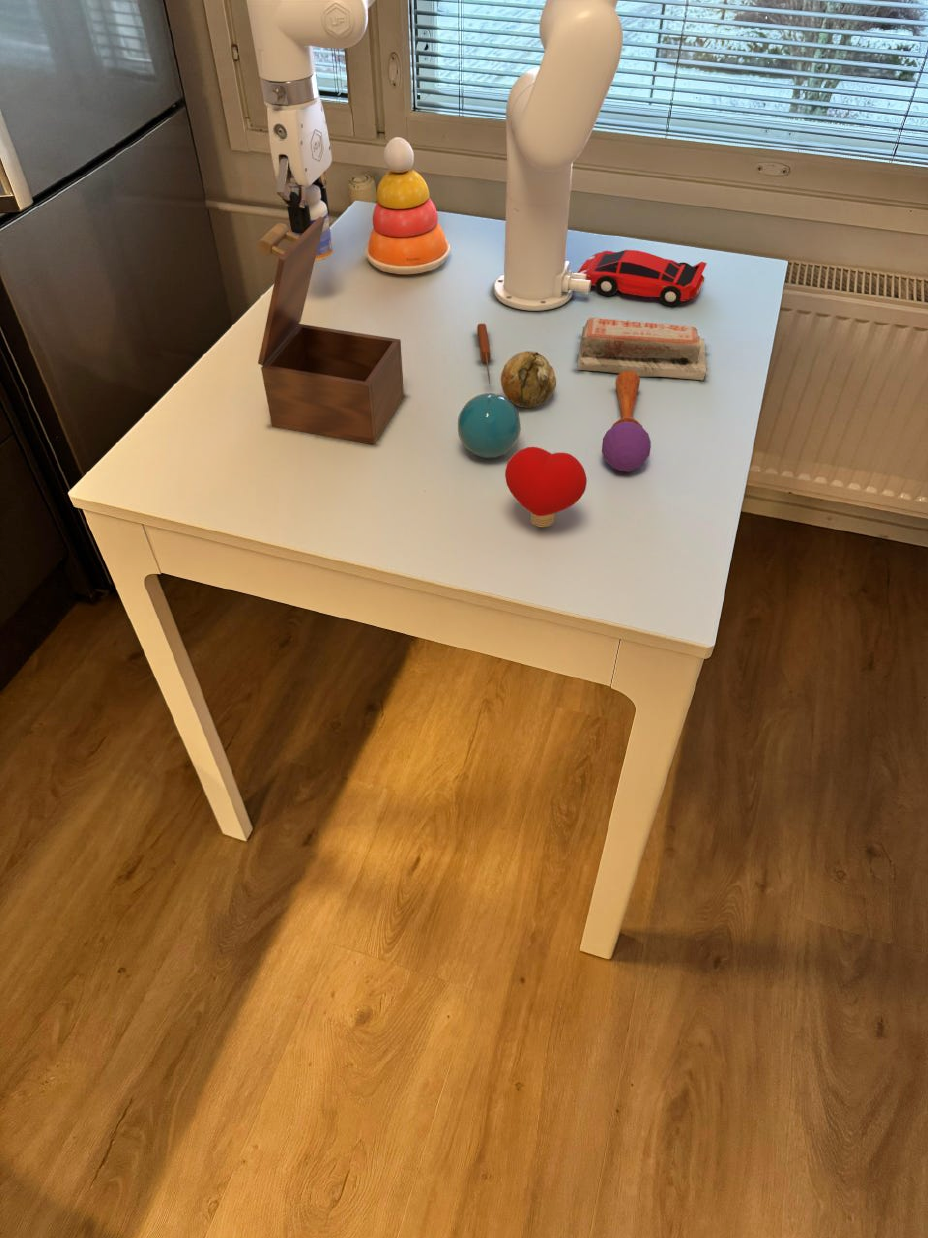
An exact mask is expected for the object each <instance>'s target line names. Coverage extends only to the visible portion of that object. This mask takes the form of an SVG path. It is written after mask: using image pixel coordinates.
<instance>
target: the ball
mask: <svg viewBox="0 0 928 1238" xmlns="http://www.w3.org/2000/svg"><path fill="white" fill-rule="evenodd" d="M521 425H522V424H521V416H520V413H519V411H518V409H517V407H516V406H515V404H514V403H513V402H512V401H510V400H509V399H508V398H507V397H506V396H505V397H504V396H503V395H501V394H497V393H493V392H488V393H487V392H485V393H481V394H478V395H476V396H474V397H473V398H470V399H469V400H468V401H467V402H466V403H465V404H464V406H463V407H462V409H461V410H460V412H459V414H458V418H457V434H458V437H459V440H460V441H461V443H462V445H463V446H464V447H465V448H466V450H467V451H469V452H470V453H471V454H473V455H475V456H477V457H480V458H483V459H494V458H498V457H501V456H503V455H505V454H506V453H508V452H509V451H511V450H513V448H514V447H515V445H516V443H517V442H518V439H519V437H520V435H521V431H522V428H521Z"/></svg>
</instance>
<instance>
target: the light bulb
mask: <svg viewBox="0 0 928 1238" xmlns="http://www.w3.org/2000/svg"><path fill="white" fill-rule="evenodd" d="M504 471H505V472H504V478H505V483H506V487H507V488H508V490H509V492H510V493H511V495H512V496H513V498H514V499H515V500H516V501H517V502H518V503H519V504H520V505H521V506H522V507H523V508H524V509H526V511H529V512H530V513H531V514H530V515H531V516H530V521H531V523H532V524H533V525H534V526H535V527H539V528H548V527H550V526H552V525H553V524H554V521H555V514H556V513H560V512H561V511H564V510H566V509H569V508H570V507H572V506H573V505H575V504H576V503H577V502H578V501H580V500H581V498H582V496H583V495H584V494H585V491H586V490H587V489H586V488H587V482H588V480H587V478H588V477H587V474H586V470H585V469H584V467H583V465H582V463H581V462H580V461H579V460H578V458H576V457H575V456H573V455H572V454H570V453H567V452H554V453H551V452H550V451H548V450H546V449H544V448H542V447H538V446H527V447H524V448H522V449H520V450H518V451H517V452H516V453H514V454H513V455H512V456H511V457H510V458H509V460H508V462H507V463H506V467H505V470H504Z"/></svg>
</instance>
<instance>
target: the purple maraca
mask: <svg viewBox="0 0 928 1238" xmlns="http://www.w3.org/2000/svg"><path fill="white" fill-rule="evenodd" d="M640 383H641V379H640V376H638V375H637V374H636V373H635V372H633V371H624V372H621V373H618V374H617V376H616V378H615V389H616V394H617V398H618V404H619V409H620V414H621V418H620V419H618V420H617V421H615V422H614V423H613V424H612V425H611V427H610V428H609V429H608V430H607V431H606V432H605V434H604V436H603V437H602V444H601V454H602V456H603V459H604V461H606V462H607V463H608V465H609V466H610V467H611V468H612V469H614V470H617V471H619V472H631V471H635V470H637V469H639V468H640V467H641V466H643V465H644V464H645V463H646V461H647V459H648V458H649V456H651V455H650V453H651V449H652V444H651V443H652V441H651V438H650V435H649V433H648V432H647V431H646V430H645V428H643V426H642V424H641V423H640V422H639V421H637V420H636V419H635V418H633V413H634V410H635V404H636V401H637V396H638V392H639V388H640Z"/></svg>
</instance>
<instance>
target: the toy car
mask: <svg viewBox="0 0 928 1238" xmlns="http://www.w3.org/2000/svg"><path fill="white" fill-rule="evenodd" d="M707 265H708V263H707V262H704V261H700V262H698V263H697V264H694V265H691V264H689V263H688V262H678V261H675V260H672V259H668V258H664V257H661V256H659V255H655V254H653V253H649V252H646V251H642V250H636V249H624V250H620V251H611V250H604V251H601V252H597V253H595V254H593V255H592V256H591V257H589V258H588V259H586V260H585V261H584V262H582V263H581V265H580V266H579V268H578V270H577V273H581V274H586V280H591V286H595V289H596V291H597V292H598V293H599V294H600V295H602V296H604V297H610V296H611V297H612V296H613V295H614V294H616V293H617V291H619V292H620V293H622V294H628V295H634V296H639V297H645V298H646V297H649V298H659V300H660V302H661V303H662V304H663V305H664V306H666V307H675V306H678V305H679V304H680V303H681V302H685V301H689V300H690V299H694V298H696V297H697V296H698V294H699V293H700V291H701V289H702V287H703V283H704V282H705V280H706V279H705V278H706V277H705V276H704V275H703V273H704V271H705V268H706V266H707Z"/></svg>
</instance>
